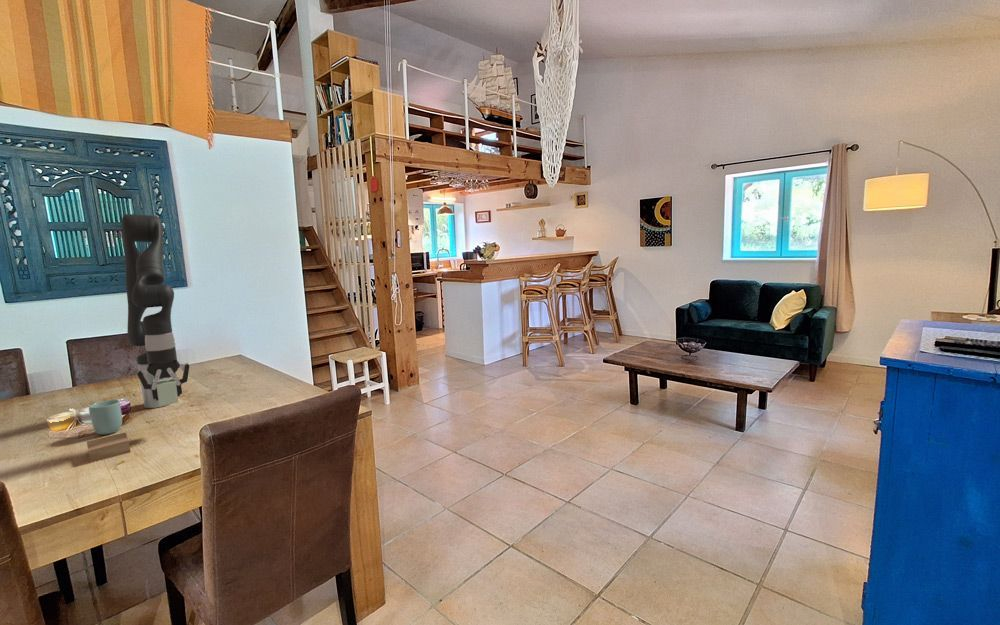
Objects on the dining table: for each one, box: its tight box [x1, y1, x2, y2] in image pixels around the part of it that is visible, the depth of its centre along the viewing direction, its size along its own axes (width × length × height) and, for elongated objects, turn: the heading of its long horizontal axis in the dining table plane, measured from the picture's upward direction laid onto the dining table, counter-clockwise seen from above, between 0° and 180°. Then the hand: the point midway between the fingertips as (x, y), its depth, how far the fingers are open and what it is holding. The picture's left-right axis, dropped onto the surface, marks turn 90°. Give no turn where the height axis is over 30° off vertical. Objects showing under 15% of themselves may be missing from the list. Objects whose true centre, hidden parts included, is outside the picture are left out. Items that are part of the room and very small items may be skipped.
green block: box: [156, 378, 179, 407], centre depth 147 cm, size 5×5×7 cm
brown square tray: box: [86, 432, 132, 464], centre depth 135 cm, size 9×9×4 cm
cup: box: [88, 399, 123, 436], centre depth 150 cm, size 8×8×10 cm
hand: (168, 397), depth 147 cm, fingers closed on green block, 5 cm apart
